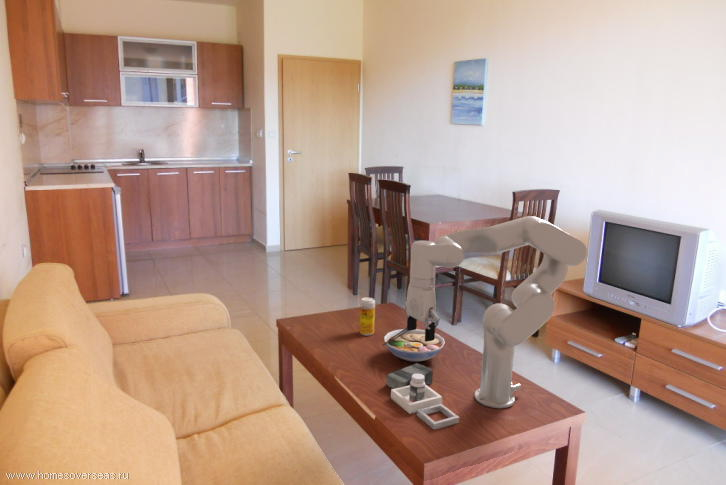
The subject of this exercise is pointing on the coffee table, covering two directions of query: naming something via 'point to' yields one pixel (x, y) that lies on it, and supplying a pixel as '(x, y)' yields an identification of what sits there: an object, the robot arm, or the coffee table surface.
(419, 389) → the pill bottle
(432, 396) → the tray
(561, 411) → the coffee table surface
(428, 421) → the square open frame
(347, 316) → the coffee table surface
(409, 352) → the ramen bowl
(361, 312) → the glass of beer
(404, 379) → the stone block
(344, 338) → the coffee table surface
